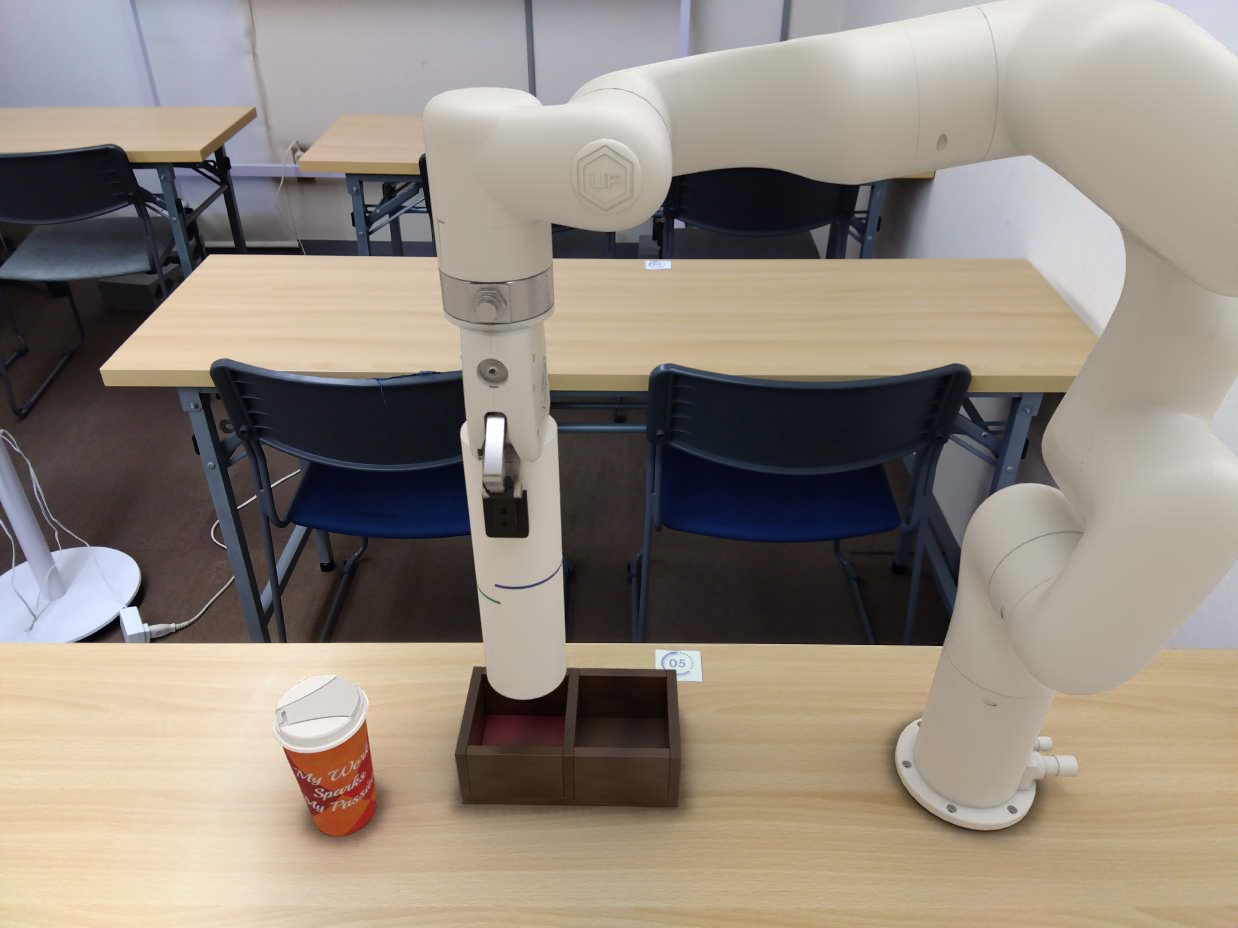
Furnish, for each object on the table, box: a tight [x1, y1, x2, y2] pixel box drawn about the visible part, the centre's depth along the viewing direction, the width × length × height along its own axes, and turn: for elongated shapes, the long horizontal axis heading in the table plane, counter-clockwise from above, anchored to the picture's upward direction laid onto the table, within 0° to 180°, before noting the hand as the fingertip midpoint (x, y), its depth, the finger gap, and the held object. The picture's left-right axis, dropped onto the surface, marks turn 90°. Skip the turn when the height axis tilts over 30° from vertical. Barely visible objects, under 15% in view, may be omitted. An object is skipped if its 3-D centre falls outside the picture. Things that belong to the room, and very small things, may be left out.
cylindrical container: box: [459, 414, 567, 700], centre depth 70 cm, size 7×7×25 cm
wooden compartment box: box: [454, 665, 682, 808], centre depth 82 cm, size 20×10×7 cm, turn 89°
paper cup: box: [271, 674, 378, 837], centre depth 75 cm, size 8×8×14 cm
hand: (514, 503), depth 67 cm, fingers closed on cylindrical container, 7 cm apart
